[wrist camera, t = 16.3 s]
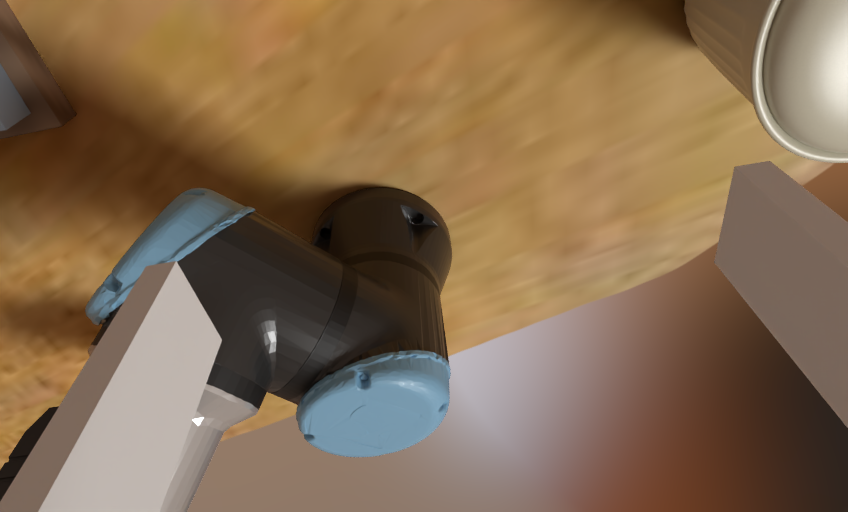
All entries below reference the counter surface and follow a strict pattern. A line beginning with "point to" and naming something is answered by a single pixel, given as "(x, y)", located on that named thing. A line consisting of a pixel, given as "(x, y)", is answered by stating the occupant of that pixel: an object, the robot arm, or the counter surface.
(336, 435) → the robot arm
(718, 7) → the canister
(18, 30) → the walnut slab
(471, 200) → the counter surface
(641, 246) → the counter surface
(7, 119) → the slate slab
